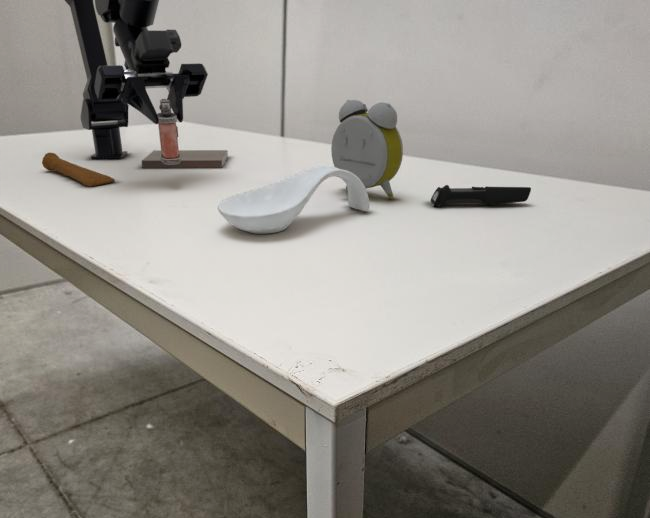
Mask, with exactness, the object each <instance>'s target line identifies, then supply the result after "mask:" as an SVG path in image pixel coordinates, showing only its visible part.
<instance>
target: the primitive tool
mask: <svg viewBox="0 0 650 518" xmlns="http://www.w3.org/2000/svg"><path fill="white" fill-rule="evenodd" d="M41 160H42V162H41V164H42V167H43V168H44V169H46V170H47V171H50V172H53V171H56V172H59V173H61V174H62V175H64V176H65V177H70V178H72V179H73V180H76V181H77V182H79V183H80V184H83V186H86V187H94V186H100V185H105V184H106V185H107V184H110V183H114V182H115V179H114V178H113V177H111V176H109V175H108V174H104V173H100V172H98V171H94V170H92V169H90V168H86V167H82V166H80V165H78V164H75V163H72V162H70V161H68V160H65V159H63V158H60V157H59V156H58V154H56V153H54V152H46V153H45V154H44V155H43V157H42V159H41Z"/></svg>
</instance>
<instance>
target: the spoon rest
mask: <svg viewBox="0 0 650 518" xmlns="http://www.w3.org/2000/svg"><path fill="white" fill-rule="evenodd" d="M332 177H334V178H339V179H341V180H342V179H343V180H344V181H345V182H344V181H343V180H342V181H343V182H344V183H345V186H346V185H347V189H348V190H347V189H346V190H347V205H348V206H349V207H351V208H353V209H356V210H359V211H362V212H367V211H370V208H371V207H370V199H369V194H368V190H367V189H365V186H364V185H363V183H362V182H361V180H360V179H359V178H358V177H357V176H356V175H355V174H353V173H351V172H349V171H346V170H342V169H338V168H336V167H334V166H332V165H318V166H313V167H311V168H308V169H305V170H303V171H299V172H298V173H295V174H293V175H290V176H288V177H285V178H283V179H280V180H278V181H275V182H271V183H269V184H265V185H263V186H260V187H257V188H253V189H249V190H246V191H243V192H239V193H236V194H232V195H230V196H228V197H226V198H223V199H222V200H221V201H220V202H219V203H218V204H217V210H218V212H219V214H220V216H222V217H223V218H224V220H225V221H226V222H227V223H229V224H230V225H231V226H233V227H235V228H237V229H238V230H242V231H245V232H247V233H250V234H255V235H257V234H258V235H259V234H261V235H262V234H263V235H267V234H275V233H279V232H282V231H284V230H286V229H287V228H288V227H289V226H290V225H291V224H292V223H293V222H295V220H296V219H297V218H298V217H299V216H300V214H301V213H302V211H303V209H304V208H305V207H306V205H307V204H308V202H309V201H310V199H311V198H312V196H313V195H314V193H315V192H316V190H317V189H318V188H319V187H320V185H321V184H322V183H323V182H324V181H326V180H327V179H329V178H332Z"/></svg>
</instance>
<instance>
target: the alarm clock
mask: <svg viewBox="0 0 650 518" xmlns="http://www.w3.org/2000/svg"><path fill="white" fill-rule="evenodd" d="M338 121H339V122H340V123H339V125H337V128H335V131H334V134H333V136H332V140H331V148H330V150H331V159H332V163H333V167H336V168H338V169H342V170H346V171H349V172H351V173H353V174H355V175H356V176H357V177H358V178H359V179H360V180H361V182H362V183H363V185H364V186H365V189H366V190H367V189H372V188H374V187H379V186H380V187H381V188H382V190H383V191H384V193H385V194H386V195H387V197H388V198H389V200H391V199H393V198H394V193H393V190H392V186H391V182H390V181H392V180H393V178H395V177H396V175H397V174H398V172H399V170H400V168H401V166H402V163H403V155H404V145H403V140H402V137H401V134H400V131H399V130H398V128H397V123H398V113H397V110H396V109H395V108H394V107H393V106H392V105H391V104H390V103H387V102H383V101H381V102H376V103H375V104H373V105H372V106H371V107H370V108H369V109H368V107H367V105H366V103H364V102H362V101H361V100H357V99H347V100H346V102H344V104H343V105H342V106H341V107H340V109H339V112H338ZM341 180H342V181H343V182H344V183H345V181H344V180H343V179H341ZM345 189H346V190H347V191H348V189H347V185H346V184H345Z"/></svg>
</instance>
